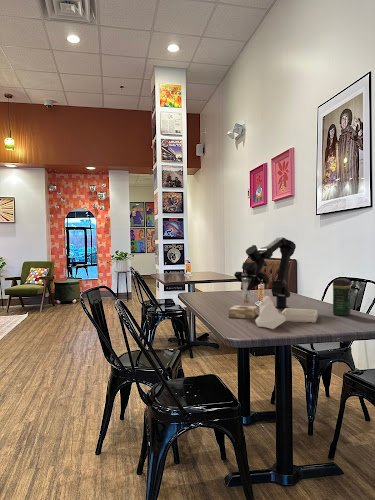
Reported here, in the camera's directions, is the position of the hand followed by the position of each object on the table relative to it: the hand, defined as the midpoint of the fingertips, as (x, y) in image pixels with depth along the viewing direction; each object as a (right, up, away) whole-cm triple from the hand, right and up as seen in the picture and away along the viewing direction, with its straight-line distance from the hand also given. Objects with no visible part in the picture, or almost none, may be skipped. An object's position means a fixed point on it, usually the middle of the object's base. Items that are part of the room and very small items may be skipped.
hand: (244, 290), depth 188 cm
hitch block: (0, -13, +3) cm, 14 cm away
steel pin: (+1, -7, +1) cm, 7 cm away
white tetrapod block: (+8, -14, -22) cm, 27 cm away
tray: (+26, -13, -8) cm, 30 cm away
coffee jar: (+50, -13, +1) cm, 52 cm away
